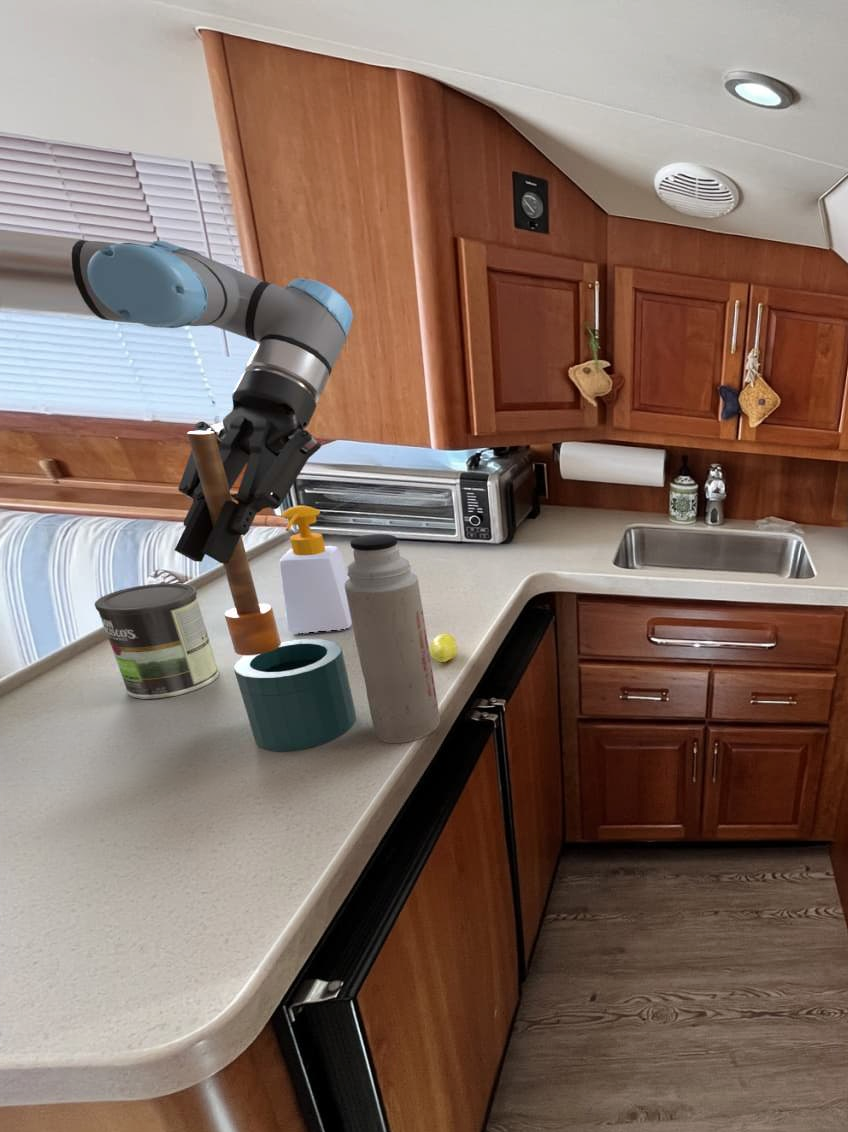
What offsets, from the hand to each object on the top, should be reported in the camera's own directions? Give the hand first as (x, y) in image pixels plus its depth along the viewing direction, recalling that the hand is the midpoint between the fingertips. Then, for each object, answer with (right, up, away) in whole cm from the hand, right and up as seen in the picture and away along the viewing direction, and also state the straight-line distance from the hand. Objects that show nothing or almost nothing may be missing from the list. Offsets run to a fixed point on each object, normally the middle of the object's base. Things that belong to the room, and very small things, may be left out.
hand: (201, 556), depth 69 cm
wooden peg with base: (-1, -11, +9) cm, 14 cm away
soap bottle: (-21, -10, +45) cm, 51 cm away
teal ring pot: (-3, -23, +18) cm, 29 cm away
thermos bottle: (+10, -23, +20) cm, 32 cm away
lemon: (+5, -15, +39) cm, 42 cm away
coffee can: (-29, -17, +26) cm, 42 cm away
